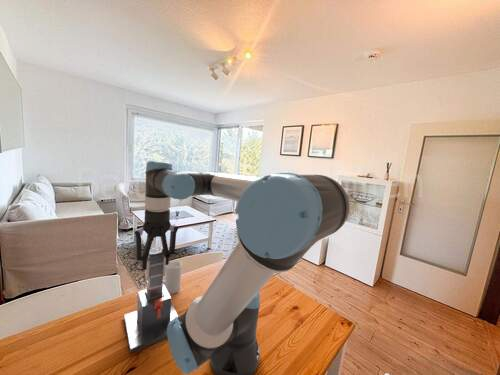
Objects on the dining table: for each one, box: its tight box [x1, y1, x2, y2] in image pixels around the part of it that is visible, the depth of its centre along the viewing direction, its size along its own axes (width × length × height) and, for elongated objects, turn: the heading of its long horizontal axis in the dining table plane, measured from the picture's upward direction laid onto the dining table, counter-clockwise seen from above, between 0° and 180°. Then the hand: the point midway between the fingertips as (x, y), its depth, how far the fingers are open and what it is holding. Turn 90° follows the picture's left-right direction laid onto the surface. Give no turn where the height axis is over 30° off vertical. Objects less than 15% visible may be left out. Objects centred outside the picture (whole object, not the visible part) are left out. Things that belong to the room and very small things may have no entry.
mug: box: [163, 260, 183, 295], centre depth 92 cm, size 10×7×12 cm, turn 99°
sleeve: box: [123, 284, 179, 354], centre depth 72 cm, size 16×16×12 cm
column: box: [146, 246, 165, 301], centre depth 71 cm, size 5×5×22 cm
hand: (155, 275), depth 71 cm, fingers closed on column, 4 cm apart
